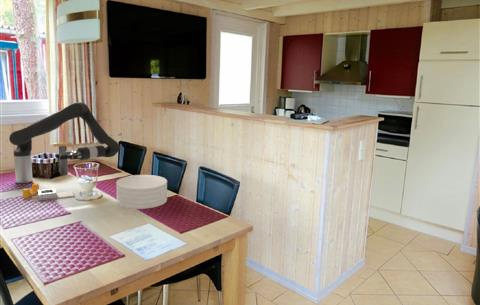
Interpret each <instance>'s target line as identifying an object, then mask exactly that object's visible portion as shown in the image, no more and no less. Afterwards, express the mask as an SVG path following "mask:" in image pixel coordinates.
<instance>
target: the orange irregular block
mask: <svg viewBox="0 0 480 305" xmlns="http://www.w3.org/2000/svg"><path fill="white" fill-rule="evenodd" d="M31 186H32V187H31V188H24V189H22V198H23V199H30V198H32V196H35V195H37V194H38V190H40V187H39V186H40V185H39V183H32V185H31Z"/></svg>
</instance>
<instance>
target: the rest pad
mask: <svg viewBox="0 0 480 305" xmlns="http://www.w3.org/2000/svg"><path fill="white" fill-rule="evenodd" d="M72 192H73V191H65V192H64V191H63V192H56V193H57V196H58V198H65V199H67V198H66V197H73V198H75V197H74V196H75V194H74V192H73V193H72ZM73 194H74V195H73Z"/></svg>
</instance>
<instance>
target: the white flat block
mask: <svg viewBox="0 0 480 305" xmlns="http://www.w3.org/2000/svg"><path fill="white" fill-rule="evenodd" d="M57 193H58V192H57V190H56V188H55V187H54V188H46V189H39V190H38V192H37V196H38V198H39V201H40V202H43V201H42V200H49V201H52V200H51V199H57ZM57 200H58V199H57Z"/></svg>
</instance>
